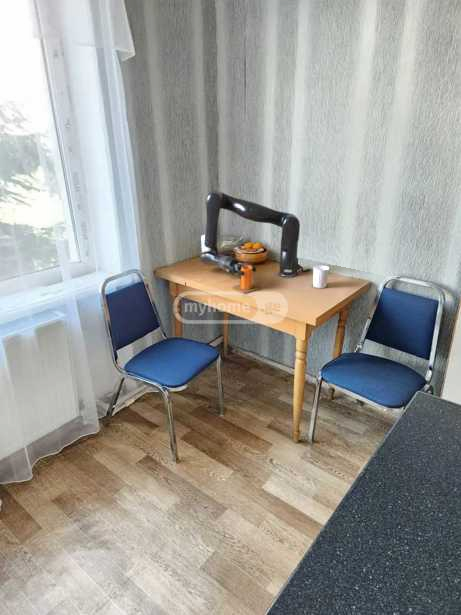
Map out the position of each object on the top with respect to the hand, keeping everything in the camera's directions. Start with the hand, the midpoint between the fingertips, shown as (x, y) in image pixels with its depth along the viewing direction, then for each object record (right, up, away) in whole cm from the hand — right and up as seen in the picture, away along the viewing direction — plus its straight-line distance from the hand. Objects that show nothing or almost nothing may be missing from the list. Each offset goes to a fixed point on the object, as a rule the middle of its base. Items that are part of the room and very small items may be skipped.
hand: (249, 271), depth 197 cm
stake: (-8, +6, +35) cm, 37 cm away
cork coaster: (-1, -8, +5) cm, 10 cm away
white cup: (+37, -7, +8) cm, 38 cm away
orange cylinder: (-1, -8, +5) cm, 9 cm away
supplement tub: (-23, +13, +51) cm, 58 cm away
